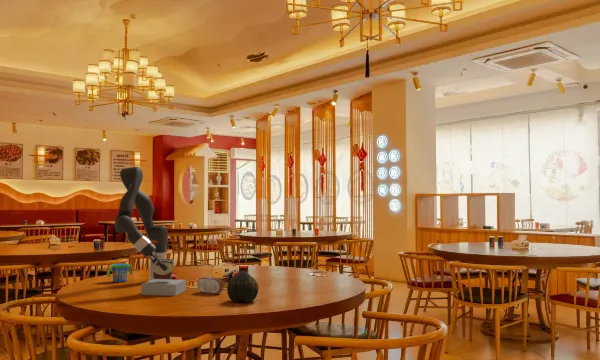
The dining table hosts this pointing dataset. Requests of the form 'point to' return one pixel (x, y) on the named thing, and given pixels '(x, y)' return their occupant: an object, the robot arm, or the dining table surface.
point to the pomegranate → (174, 276)
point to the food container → (160, 273)
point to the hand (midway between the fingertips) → (167, 269)
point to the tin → (210, 285)
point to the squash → (242, 287)
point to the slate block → (163, 287)
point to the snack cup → (120, 272)
